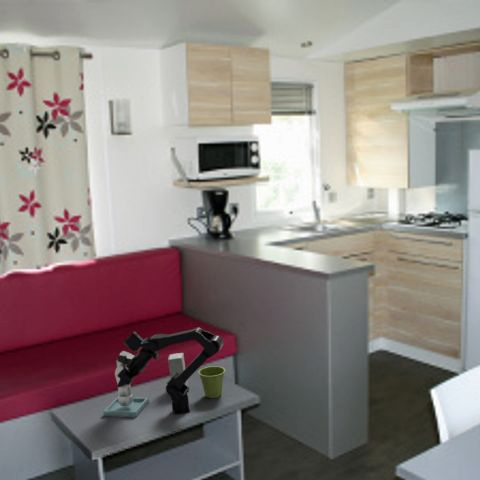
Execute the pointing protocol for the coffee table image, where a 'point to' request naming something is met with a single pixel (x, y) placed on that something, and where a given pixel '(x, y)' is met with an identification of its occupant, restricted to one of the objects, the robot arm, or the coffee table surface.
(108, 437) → the coffee table surface
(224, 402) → the coffee table surface
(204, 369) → the plant pot
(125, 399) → the plastic bottle
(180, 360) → the skincare box
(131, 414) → the tray
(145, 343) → the robot arm
